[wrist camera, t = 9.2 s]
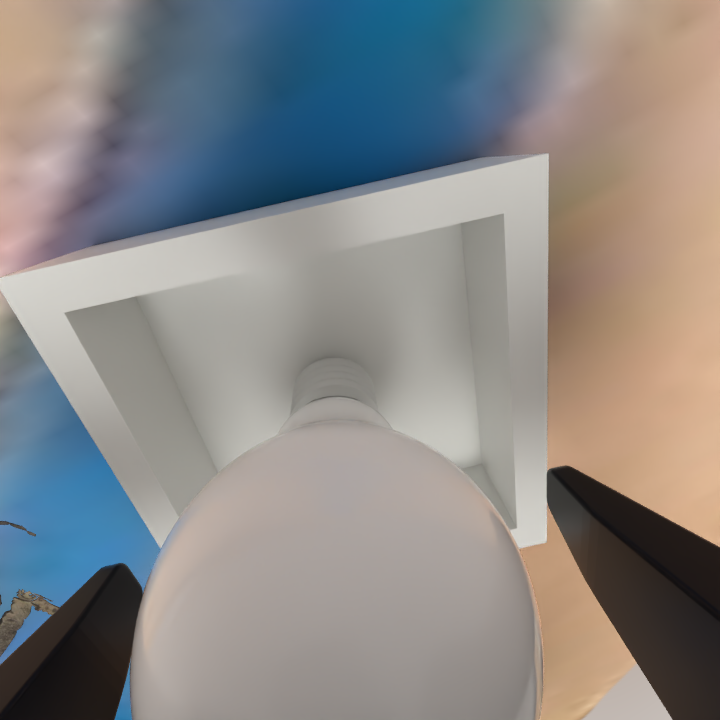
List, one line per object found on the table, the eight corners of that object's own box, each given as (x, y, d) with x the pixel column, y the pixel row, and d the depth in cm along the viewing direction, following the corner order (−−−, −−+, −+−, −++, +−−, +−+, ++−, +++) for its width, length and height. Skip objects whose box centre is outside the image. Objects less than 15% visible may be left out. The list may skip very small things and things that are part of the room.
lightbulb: (460, 349, 14) (797, 826, 4) (366, 477, 16) (430, 987, 6) (290, 257, 12) (124, 718, 2) (210, 416, 14) (-49, 999, 4)
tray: (499, 464, 17) (546, 542, 14) (227, 524, 17) (203, 617, 14) (480, 157, 12) (548, 153, 8) (90, 246, 12) (-6, 279, 9)
